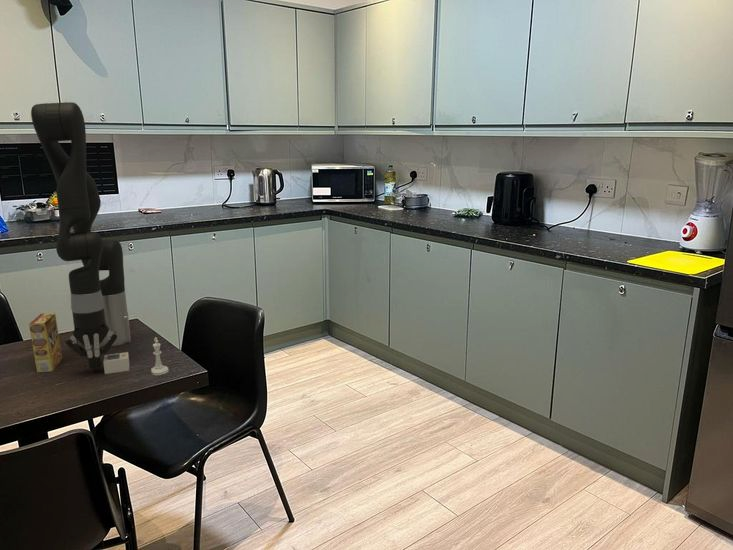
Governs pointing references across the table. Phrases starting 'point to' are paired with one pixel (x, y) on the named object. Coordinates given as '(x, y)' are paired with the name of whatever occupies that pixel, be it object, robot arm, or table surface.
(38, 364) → the candy box
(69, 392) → the table surface
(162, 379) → the table surface
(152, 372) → the chess piece
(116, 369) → the digital timer
